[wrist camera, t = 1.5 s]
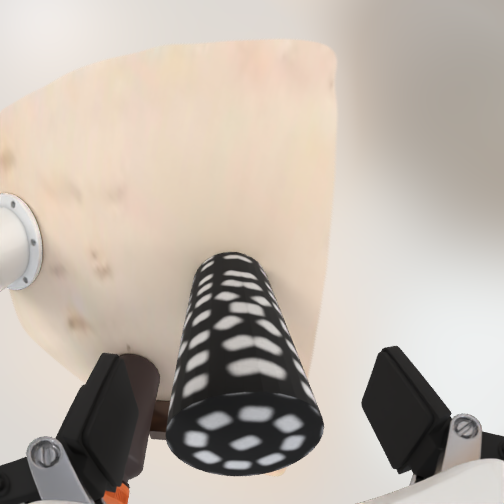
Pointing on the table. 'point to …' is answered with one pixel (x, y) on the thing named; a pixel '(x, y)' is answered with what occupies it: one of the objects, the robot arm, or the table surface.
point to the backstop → (159, 420)
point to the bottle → (145, 394)
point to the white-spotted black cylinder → (239, 377)
